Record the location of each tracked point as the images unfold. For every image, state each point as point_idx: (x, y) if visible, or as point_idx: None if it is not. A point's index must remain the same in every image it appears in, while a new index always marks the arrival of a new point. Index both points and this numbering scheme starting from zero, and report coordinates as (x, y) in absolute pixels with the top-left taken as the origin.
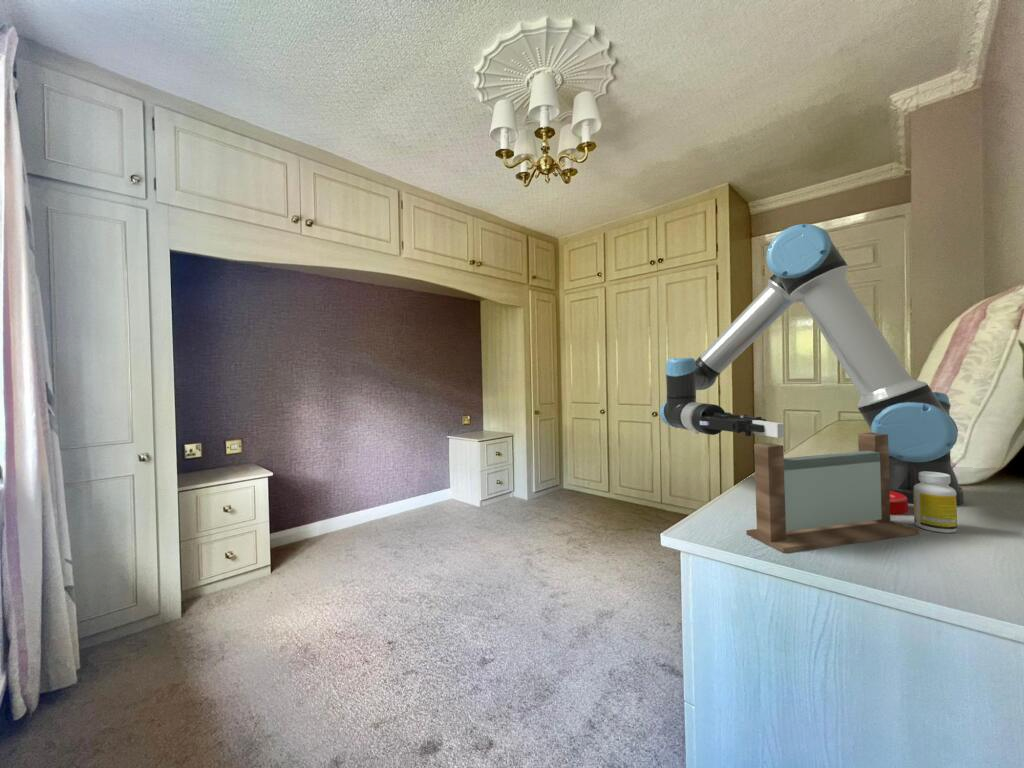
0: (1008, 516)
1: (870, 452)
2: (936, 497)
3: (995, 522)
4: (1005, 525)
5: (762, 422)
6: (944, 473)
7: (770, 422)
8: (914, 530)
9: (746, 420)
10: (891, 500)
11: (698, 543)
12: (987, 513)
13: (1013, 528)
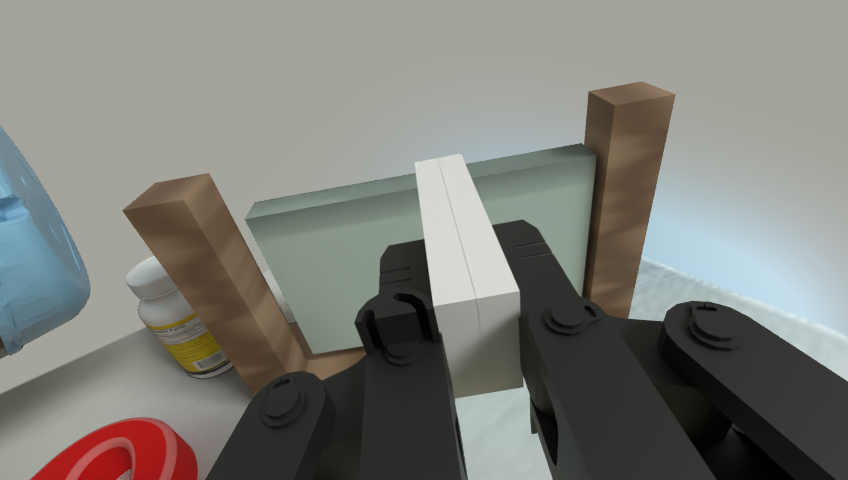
0: (11, 394)
1: (272, 203)
2: None
3: (88, 368)
4: (102, 354)
5: (486, 215)
6: (133, 268)
7: (447, 193)
8: (293, 323)
9: (585, 316)
10: (151, 419)
11: (784, 318)
12: (4, 415)
13: (116, 341)
